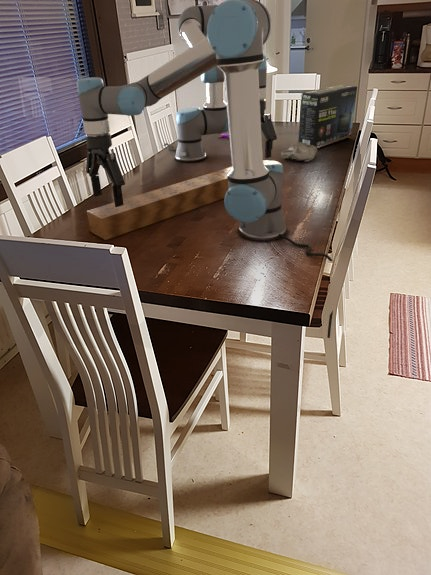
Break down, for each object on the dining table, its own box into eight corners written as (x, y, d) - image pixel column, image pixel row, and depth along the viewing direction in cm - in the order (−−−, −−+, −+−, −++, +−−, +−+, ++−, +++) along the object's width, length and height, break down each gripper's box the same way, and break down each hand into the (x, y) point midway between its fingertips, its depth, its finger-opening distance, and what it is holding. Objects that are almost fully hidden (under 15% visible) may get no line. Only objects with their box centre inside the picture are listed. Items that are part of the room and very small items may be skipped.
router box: (314, 151, 231) (318, 94, 217) (296, 148, 237) (299, 92, 224) (352, 138, 251) (358, 85, 238) (335, 135, 258) (340, 83, 245)
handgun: (220, 136, 265) (220, 133, 264) (233, 135, 266) (233, 132, 265) (227, 145, 248) (227, 141, 247) (241, 143, 249) (241, 140, 248)
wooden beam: (105, 240, 149) (101, 218, 145) (90, 231, 155) (86, 210, 151) (273, 181, 194) (273, 163, 190) (256, 176, 200) (256, 159, 196)
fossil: (311, 156, 210) (288, 135, 213) (297, 175, 216) (275, 154, 219) (325, 153, 223) (304, 133, 226) (312, 171, 230) (290, 152, 233)
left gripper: (287, 101, 171) (285, 158, 182) (240, 95, 187) (240, 147, 198) (274, 104, 167) (272, 162, 178) (227, 97, 183) (228, 151, 194)
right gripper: (130, 138, 133) (139, 207, 144) (88, 125, 149) (99, 188, 160) (108, 142, 129) (118, 213, 140) (67, 129, 145) (79, 194, 156)
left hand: (255, 154), depth 188 cm, fingers open, 13 cm apart
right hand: (108, 200), depth 150 cm, fingers open, 13 cm apart
